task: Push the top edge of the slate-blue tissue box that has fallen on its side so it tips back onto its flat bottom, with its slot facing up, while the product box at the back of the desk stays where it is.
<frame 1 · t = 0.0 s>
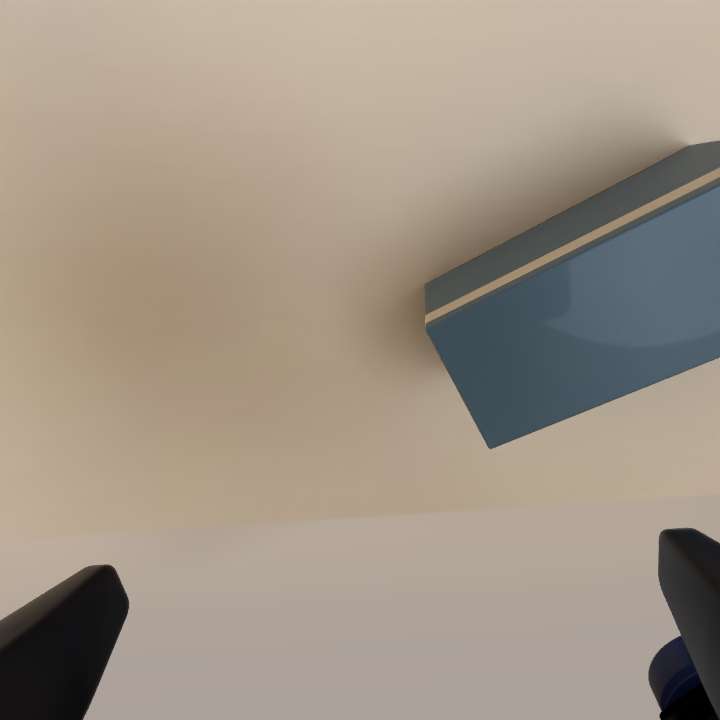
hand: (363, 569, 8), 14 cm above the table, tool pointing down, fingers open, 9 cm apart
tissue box: (598, 285, 16), point 3 cm above the table
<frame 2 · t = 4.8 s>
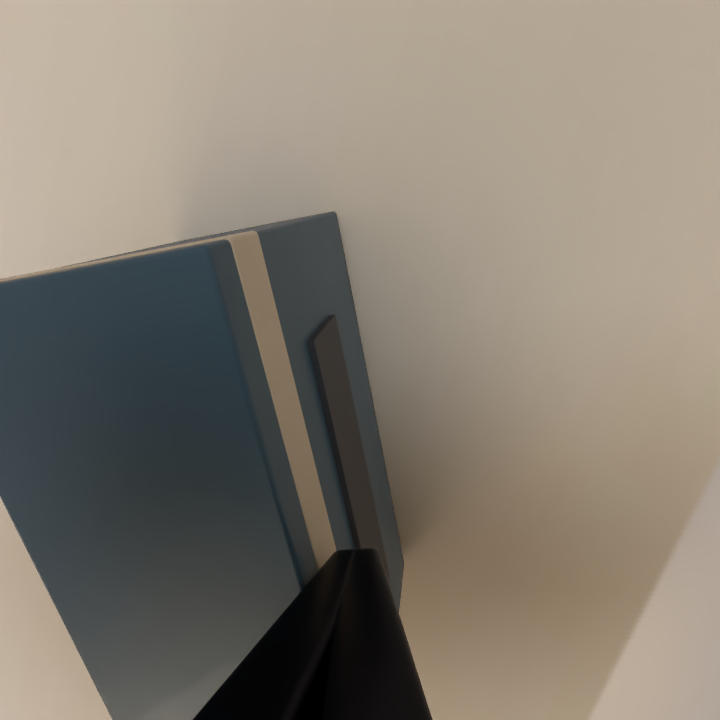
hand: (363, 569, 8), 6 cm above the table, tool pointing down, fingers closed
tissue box: (257, 487, 11), point 4 cm above the table, touching gripper
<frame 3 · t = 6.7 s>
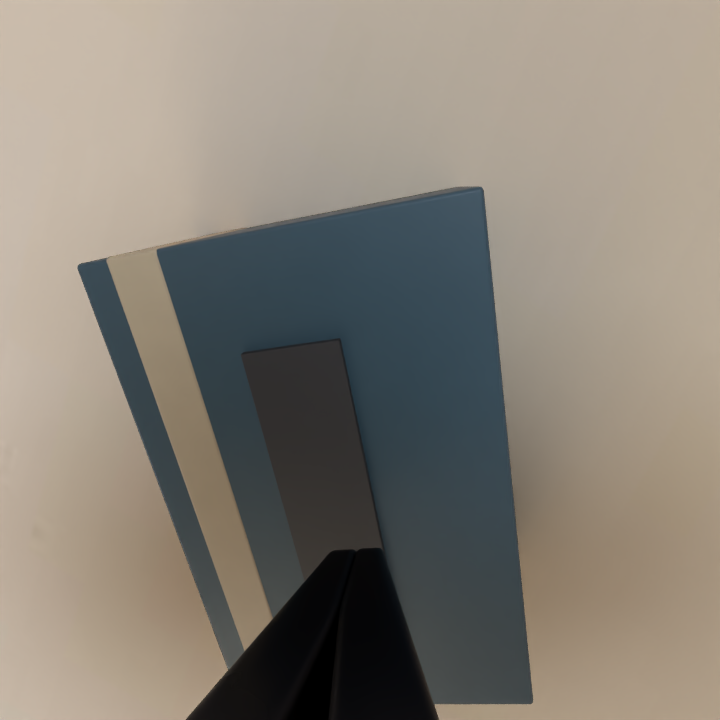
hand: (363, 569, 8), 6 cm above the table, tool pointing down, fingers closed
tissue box: (348, 452, 11), point 2 cm above the table, tilted 90°
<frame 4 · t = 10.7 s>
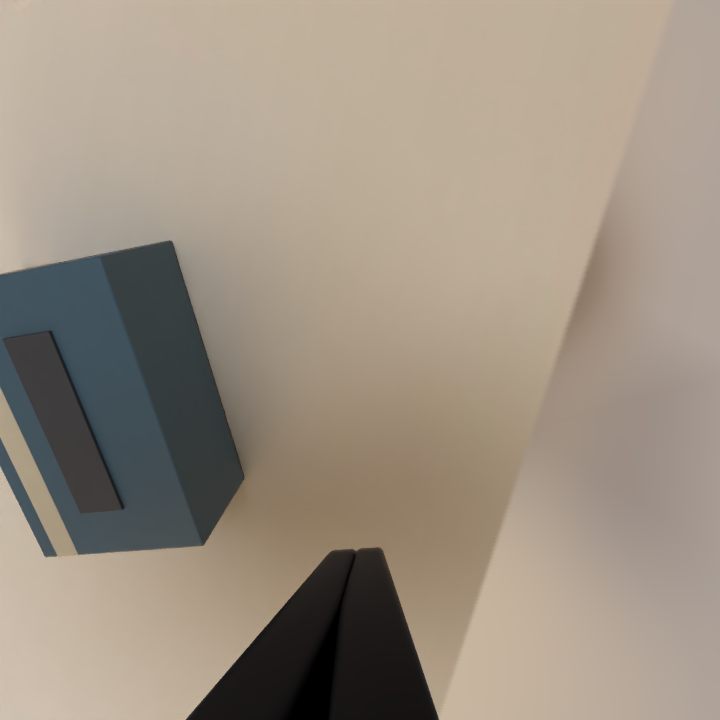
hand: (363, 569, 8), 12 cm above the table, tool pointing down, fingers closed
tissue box: (107, 401, 19), point 2 cm above the table, tilted 90°
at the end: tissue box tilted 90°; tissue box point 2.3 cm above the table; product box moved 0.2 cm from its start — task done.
